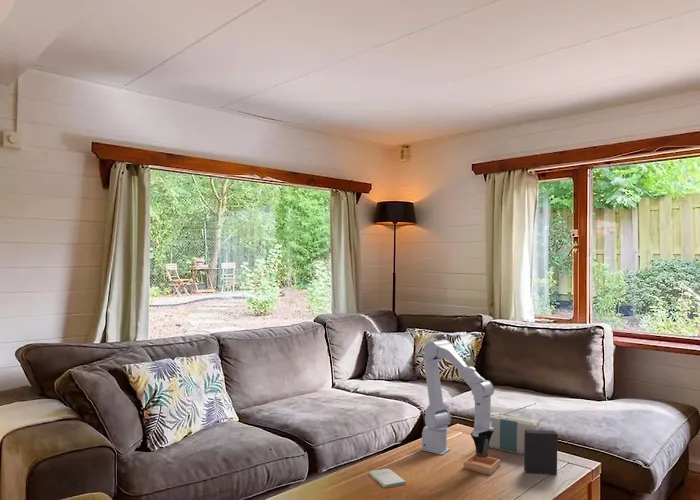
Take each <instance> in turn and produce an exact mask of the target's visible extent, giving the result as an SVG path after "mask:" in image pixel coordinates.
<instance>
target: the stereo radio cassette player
mask: <svg viewBox="0 0 700 500" xmlns="http://www.w3.org/2000/svg"><path fill="white" fill-rule="evenodd" d="M533 405H537V403H536V402H535V403H533V404H530V405H526V406H523V407H519V408H517V409H514V410H510V411H508V412H505V413H502V412H501V413H499V412H495V411H491V416H490V422H492V427H493V428H494V429H493V430H494V432H493V434H492V436H491V438H490V442H489V446H488V448H492V449H496V450H500V451H505V452H509V453H515V454H518V455H523V456H524V434H525V430H540V420H539V419H533V418H527V417H522V416H517V415H512V414H511V413H514V412H518V411H519V410H520V411H521V410H523V409H526V408H528V407H531V406H533Z"/></svg>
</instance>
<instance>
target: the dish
mask: <svg viewBox="0 0 700 500" xmlns="http://www.w3.org/2000/svg"><path fill="white" fill-rule="evenodd" d="M500 467H501V459H499V458H495V457H490V456H488V457H486V458H481V457H477V456H476V453H473V454H471V455H470V456H469V457H468V458H466V459H465V460H463V469H465V470H469V471H471V472H476V473H481V474H484V475H489V476H491V475H492V474H493V473H494V472H495V471H496V470H498V469H499V468H500Z"/></svg>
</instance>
